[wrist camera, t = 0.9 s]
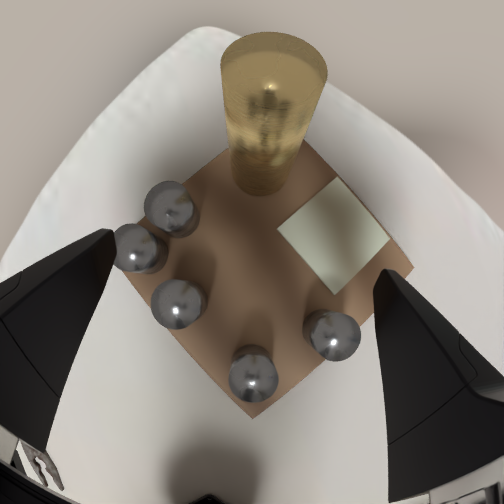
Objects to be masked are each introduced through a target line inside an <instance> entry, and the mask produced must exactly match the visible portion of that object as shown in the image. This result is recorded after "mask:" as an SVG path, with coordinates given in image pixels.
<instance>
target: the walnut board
mask: <svg viewBox="0 0 504 504" xmlns="http://www.w3.org/2000/svg"><path fill="white" fill-rule="evenodd" d="M182 185H183V186H184V187H185V188H186V190H187V191H188V193H189V194H190V196H191V198H192V200H193V201H194V203H195V205H196V206H197V208H198V210H199V213H200V221H199V225H198V227H197V229H196V230H195V231H194V232H193V233H192V234H191V235H189V236H187V237H185V238H174V237H171V236H169V235H168V234H166V233H165V232H164V231H162V230H161V229H159V228H158V227H156V226H155V225H153V224H152V223H151V222H150V221H149V220H148V218H147V217H146V216H145V217H144V218H143V219H142V220H140V221H139V222H138V223H137V224H138V225H140V226H142V227H144V228H145V229H147V230H149V231H150V232H152V233H154V234H155V235H157V236H159V237H160V238H161V239H163V241H164V242H165V243H166V245H167V248H168V259H167V262H166V264H165V266H164V267H163V268H162V269H161V270H160V271H159V272H157V273H155V274H141V273H133V272H126V271H123V273H124V274H125V276H126V277H127V278H128V280H129V281H130V282H131V284H132V285H133V286H134V288H135V289H136V290H137V291H138V293H139V294H140V295H141V297H142V298H143V299H144V301H145V302H146V303H147V304H148V306H149V307H150V308H151V297H152V294H153V292H154V290H155V289H156V287H157V286H158V285H159V284H161V283H162V282H164V281H167V280H171V279H177V280H187V281H193V282H195V283H197V284H199V285H200V286H201V287H202V288H203V289H204V291H205V293H206V295H207V300H208V304H207V309H206V311H205V313H204V314H203V315H202V316H201V317H200V318H199V319H198V320H196V321H195V322H193V323H192V324H191V325H189V326H188V327H186V328H183V329H179V330H172V329H168V328H167V329H168V330H169V331H170V332H171V334H172V335H173V336H174V337H175V338H176V340H177V341H178V342H179V343H180V344H181V345H182V346H183V348H184V349H185V350H186V351H187V352H188V353H189V354H190V355H191V357H192V358H193V359H194V360H195V361H196V362H197V363H198V364H199V365H200V366H201V368H202V369H203V370H204V371H205V372H206V373H207V374H208V375H209V376H210V377H211V378H212V379H213V380H214V381H215V382H216V383H217V385H218V386H219V387H220V388H221V389H222V390H223V391H224V392H225V393H226V394H227V395H228V396H229V397H230V398H231V399H232V400H233V401H234V402H235V403H236V404H237V405H238V406H239V407H240V408H241V409H242V410H244V411H245V412H246V413H247V414H248V415H249V416H250V417H251V418H252V419H253V418H255V417H256V416H257V415H259V414H260V413H261V412H263V411H264V410H265V409H267V408H268V407H269V406H270V405H272V404H273V403H274V402H276V401H277V400H278V399H279V398H281V397H282V396H283V395H284V394H286V393H287V392H288V391H289V390H291V389H292V388H293V387H294V386H295V385H297V384H298V383H299V382H300V381H301V380H302V379H304V378H305V377H306V376H307V375H308V374H309V373H311V372H312V371H313V370H314V369H315V368H316V367H317V366H319V365H320V364H321V363H322V362H323V361H324V360H325V358H323V357H322V356H321V355H320V354H319V353H318V352H316V351H315V350H314V349H313V348H312V347H311V346H310V345H309V344H308V343H307V342H306V341H305V339H304V337H303V334H302V326H303V323H304V320H305V319H306V317H307V316H308V315H309V314H310V313H311V312H313V311H315V310H318V309H328V310H332V311H335V312H339V313H343V314H347V315H349V316H351V317H352V318H354V319H355V320H356V322H357V323H358V325H359V327H360V326H361V325H362V324H363V323H364V322H365V321H366V320H367V319H368V318H369V317H370V316H371V315H372V314H373V313H374V303H373V287H374V285H375V283H376V281H377V279H378V277H379V274H380V272H381V271H382V269H384V268H386V269H393V270H395V271H396V272H397V273H398V274H400V275H401V276H402V277H403V278H404V279H405V278H406V277H407V275H408V274H409V273H410V272H411V271H412V270H413V268H414V267H413V265H412V264H411V262H410V261H409V260H408V258H407V257H406V256H405V254H404V253H403V252H402V250H401V249H400V248H399V247H398V245H397V244H396V243H395V241H394V240H393V239H392V238H391V236H390V235H389V234H388V233H387V231H386V230H385V229H384V228H383V226H382V225H381V224H380V223H379V221H378V220H377V219H376V218H375V217H374V215H373V214H372V213H371V212H370V211H369V209H368V208H367V207H366V206H365V205H364V204H363V202H362V201H361V200H360V199H359V198H358V197H357V195H356V194H355V193H354V192H353V191H352V190H351V189H350V188H349V186H348V185H347V184H346V183H345V182H344V181H343V180H342V179H341V178H340V177H339V175H338V174H337V173H336V172H335V171H334V170H333V169H332V168H331V167H330V166H329V165H328V164H327V163H326V162H325V161H324V160H323V158H322V157H321V156H320V155H319V154H318V153H317V152H316V151H315V150H314V149H313V148H312V147H311V146H310V145H309V144H308V143H307V142H306V141H305V140H304V139H303V141H302V143H301V146H300V148H299V151H298V153H297V156H296V158H295V161H294V163H293V166H292V168H291V171H290V173H289V176H288V178H287V181H286V183H285V184H284V186H283V187H282V188H281V189H280V190H279V191H277V192H276V193H274V194H271V195H268V196H253V195H250V194H247V193H246V192H244V191H242V190H241V189H240V188H239V187H238V186H237V185H236V183H235V182H234V180H233V178H232V174H231V165H230V155H229V148H228V149H226V150H225V151H224V152H222V153H221V154H220V155H218V156H217V157H216V158H214V159H213V160H212V161H211V162H209V163H208V164H207V165H205V166H204V167H203V168H202V169H200V170H199V171H198V172H197V173H195V174H194V175H193V176H192V177H191V178H189V179H188V180H187V181H186V182H184V183H183V184H182ZM249 344H255V345H259V346H262V347H264V348H265V349H266V350H267V351H268V352H269V353H270V355H271V357H272V360H273V362H274V365H275V367H276V370H277V373H278V377H279V383H278V387H277V389H276V391H275V392H274V394H273V395H272V396H271V397H269V398H268V399H266V400H264V401H262V402H257V403H249V402H245V401H242V400H240V399H239V398H237V397H236V396H235V395H234V394H233V393H232V391H231V389H230V387H229V382H228V379H229V372H230V366H231V360H232V357H233V355H234V353H235V352H236V351H237V350H238V349H239V348H240V347H242V346H245V345H249Z"/></svg>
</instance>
